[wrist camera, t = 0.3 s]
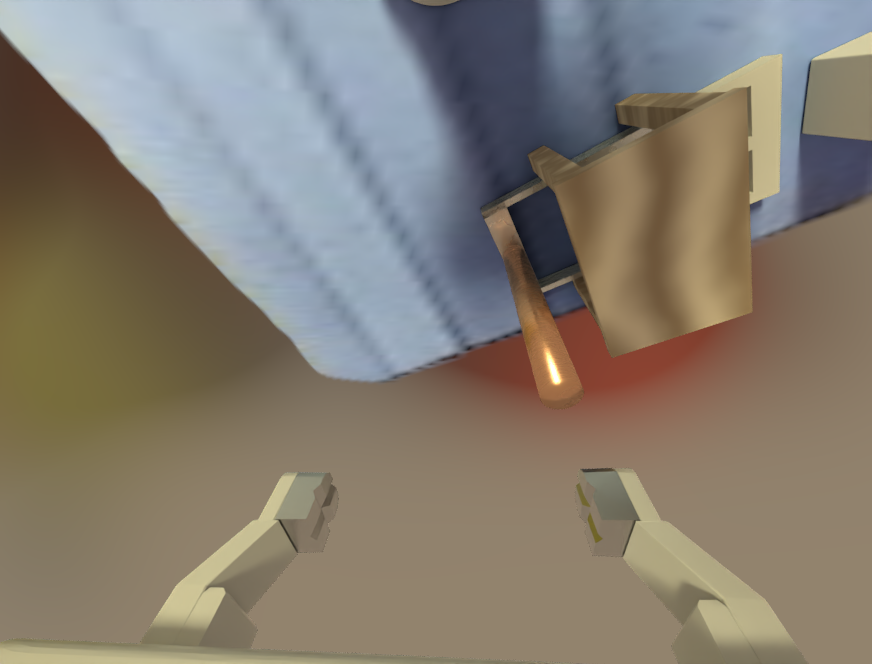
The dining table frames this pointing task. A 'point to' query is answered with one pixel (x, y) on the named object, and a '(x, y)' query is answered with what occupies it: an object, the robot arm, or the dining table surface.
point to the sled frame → (543, 286)
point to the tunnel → (661, 218)
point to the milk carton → (841, 92)
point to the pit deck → (760, 120)
